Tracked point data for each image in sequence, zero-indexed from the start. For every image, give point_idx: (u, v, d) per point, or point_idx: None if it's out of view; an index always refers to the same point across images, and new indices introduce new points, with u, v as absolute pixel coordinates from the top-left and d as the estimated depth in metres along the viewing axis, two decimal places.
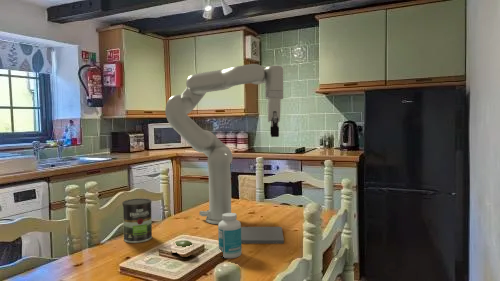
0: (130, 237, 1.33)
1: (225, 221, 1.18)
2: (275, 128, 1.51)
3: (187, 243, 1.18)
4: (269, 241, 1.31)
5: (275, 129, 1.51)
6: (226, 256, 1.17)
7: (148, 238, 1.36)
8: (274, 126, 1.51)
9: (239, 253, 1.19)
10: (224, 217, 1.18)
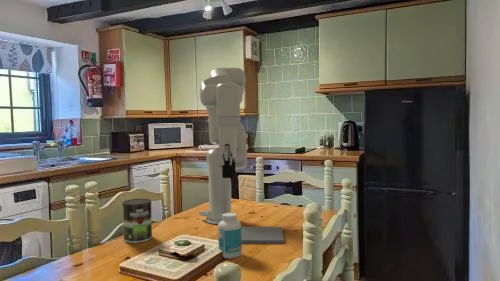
0: (130, 237, 1.33)
1: (225, 221, 1.18)
2: (227, 167, 1.13)
3: (186, 243, 1.19)
4: (269, 241, 1.31)
5: (227, 168, 1.13)
6: (226, 256, 1.17)
7: (148, 238, 1.36)
8: (226, 164, 1.13)
9: (239, 253, 1.19)
10: (224, 217, 1.18)
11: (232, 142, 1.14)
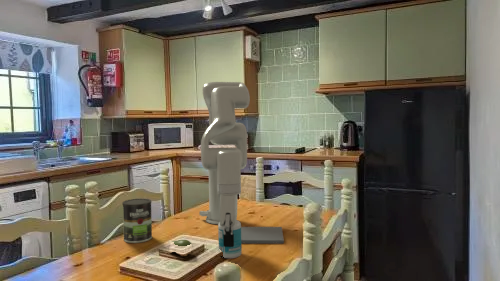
0: (130, 237, 1.33)
1: None
2: (228, 236, 1.15)
3: (186, 242, 1.19)
4: (269, 241, 1.31)
5: (228, 238, 1.15)
6: (226, 256, 1.17)
7: (148, 238, 1.36)
8: (227, 234, 1.15)
9: (239, 253, 1.19)
10: None
11: (233, 211, 1.15)
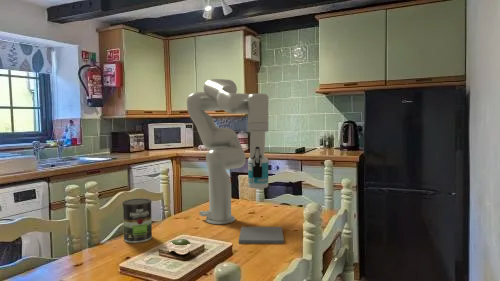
0: (130, 237, 1.33)
1: None
2: (257, 168, 1.31)
3: (184, 241, 1.20)
4: (269, 241, 1.31)
5: (257, 169, 1.31)
6: (255, 186, 1.33)
7: (148, 238, 1.36)
8: (256, 166, 1.31)
9: (266, 184, 1.35)
10: None
11: (262, 145, 1.31)
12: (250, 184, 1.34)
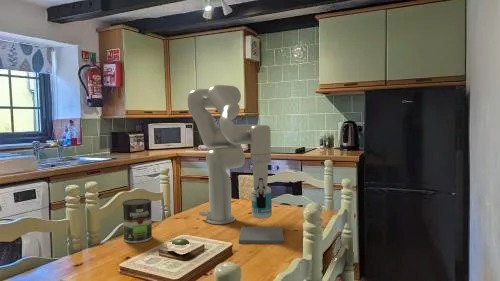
0: (130, 237, 1.33)
1: None
2: (261, 199, 1.33)
3: (184, 241, 1.20)
4: (269, 241, 1.31)
5: (261, 200, 1.33)
6: (259, 216, 1.35)
7: (148, 238, 1.36)
8: (260, 197, 1.33)
9: (270, 214, 1.37)
10: None
11: (265, 176, 1.33)
12: (254, 214, 1.36)
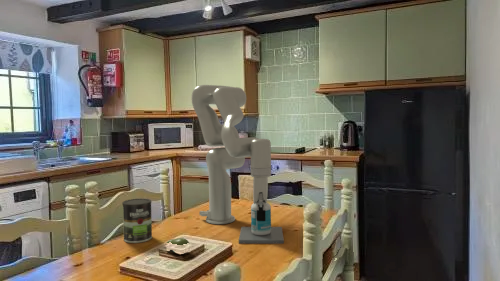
0: (130, 237, 1.33)
1: None
2: (261, 212, 1.33)
3: (183, 241, 1.21)
4: (269, 241, 1.31)
5: (261, 213, 1.33)
6: (258, 233, 1.36)
7: (148, 238, 1.36)
8: (260, 210, 1.32)
9: (269, 231, 1.37)
10: None
11: (265, 190, 1.33)
12: (253, 231, 1.37)
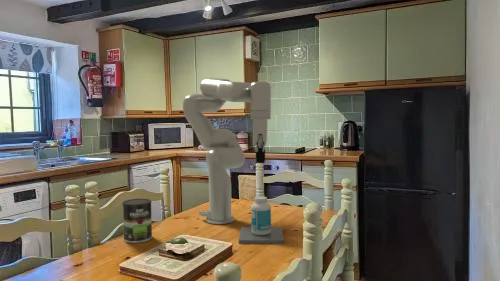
0: (130, 237, 1.33)
1: (257, 203, 1.37)
2: (260, 153, 1.33)
3: (182, 240, 1.21)
4: (269, 241, 1.31)
5: (260, 154, 1.33)
6: (258, 233, 1.36)
7: (148, 238, 1.36)
8: (259, 151, 1.32)
9: (269, 231, 1.37)
10: (256, 200, 1.37)
11: (264, 132, 1.33)
12: (253, 231, 1.37)
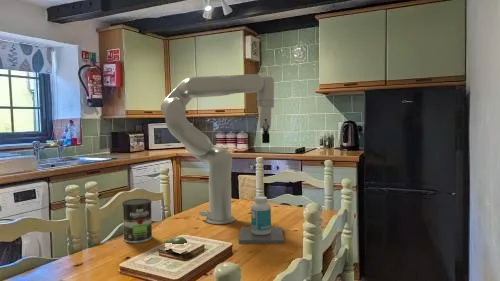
0: (130, 237, 1.33)
1: (257, 203, 1.37)
2: (266, 135, 1.62)
3: (182, 240, 1.22)
4: (269, 241, 1.31)
5: (266, 136, 1.62)
6: (258, 233, 1.36)
7: (148, 238, 1.36)
8: (265, 133, 1.62)
9: (269, 231, 1.37)
10: (256, 200, 1.37)
11: (269, 118, 1.62)
12: (253, 231, 1.37)
